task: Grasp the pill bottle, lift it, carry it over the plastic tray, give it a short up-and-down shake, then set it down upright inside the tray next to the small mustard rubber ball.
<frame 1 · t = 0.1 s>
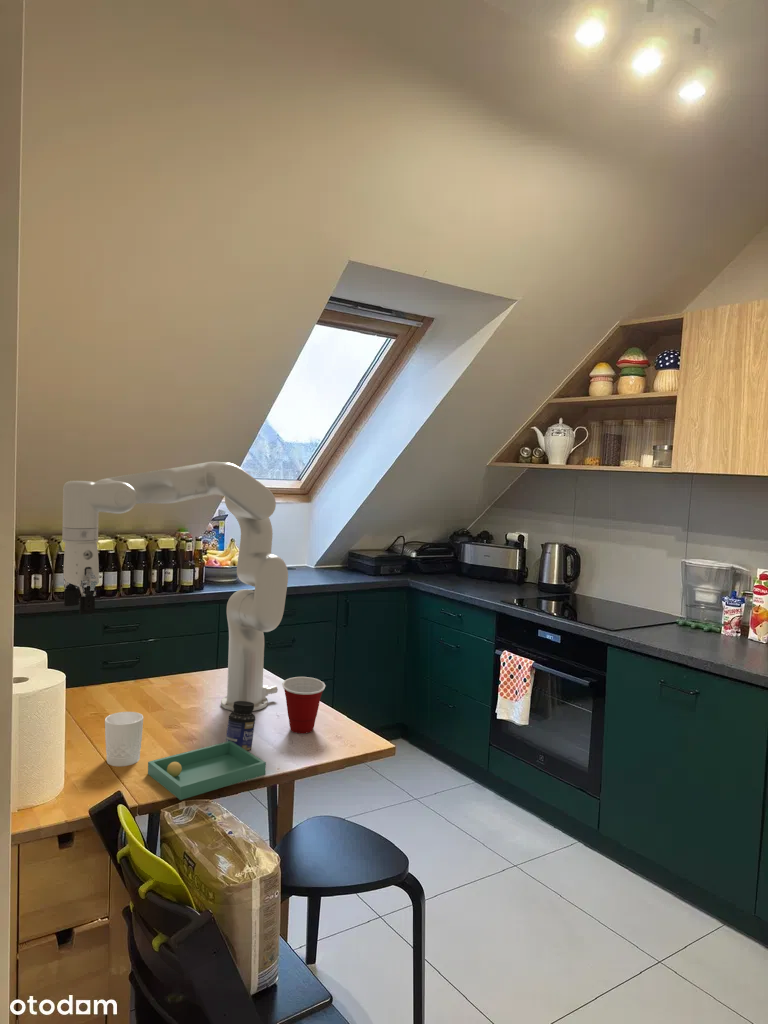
hand: (79, 609, 167), 31 cm above the table, fingers open, 9 cm apart
plastic cup: (302, 730, 183), on the table
tray: (207, 776, 154), on the table
ball: (174, 776, 153), point 1 cm above the table, touching tray
pill bottle: (237, 751, 169), on the table, touching tray
white cup: (123, 763, 159), on the table
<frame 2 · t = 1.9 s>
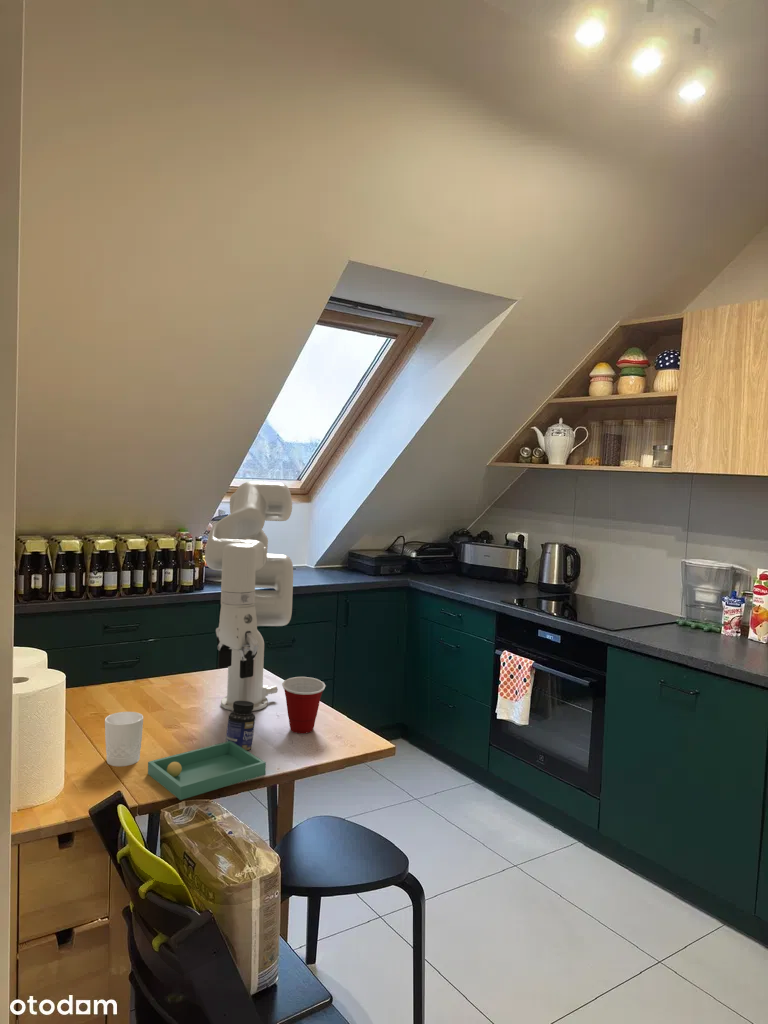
hand: (235, 671, 167), 19 cm above the table, fingers open, 9 cm apart
nothing on the table moved.
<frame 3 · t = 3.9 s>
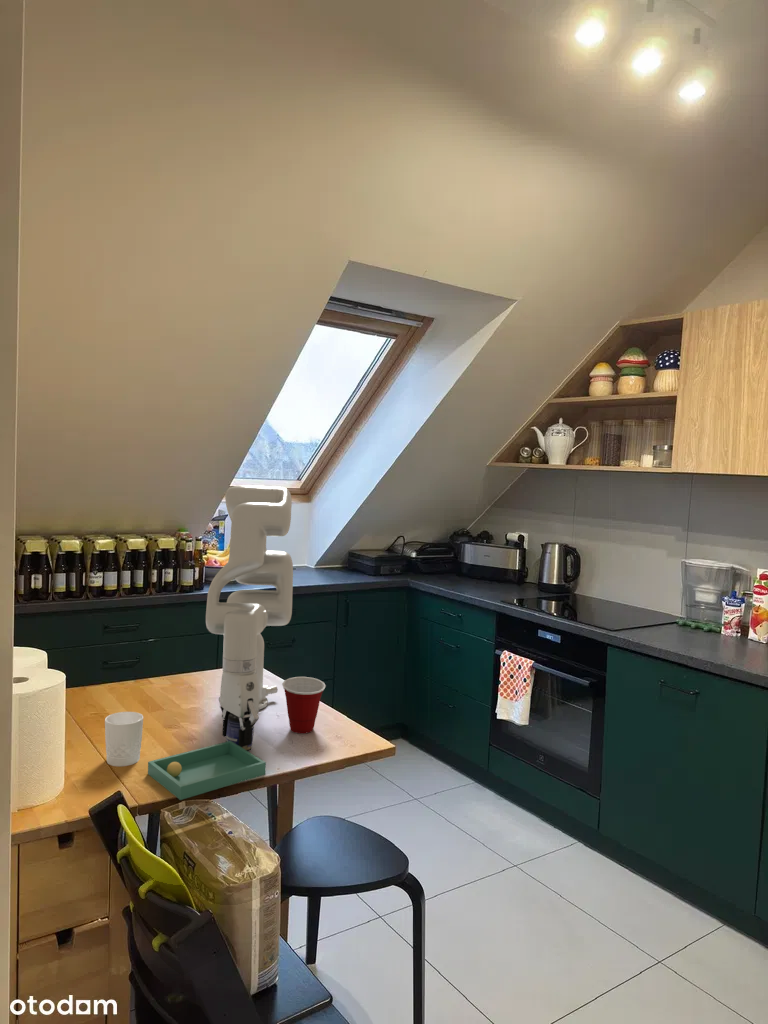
hand: (236, 739, 168), 3 cm above the table, fingers closed on pill bottle, 6 cm apart
pill bottle: (237, 751, 169), on the table, touching gripper, tray
everything else where it was.
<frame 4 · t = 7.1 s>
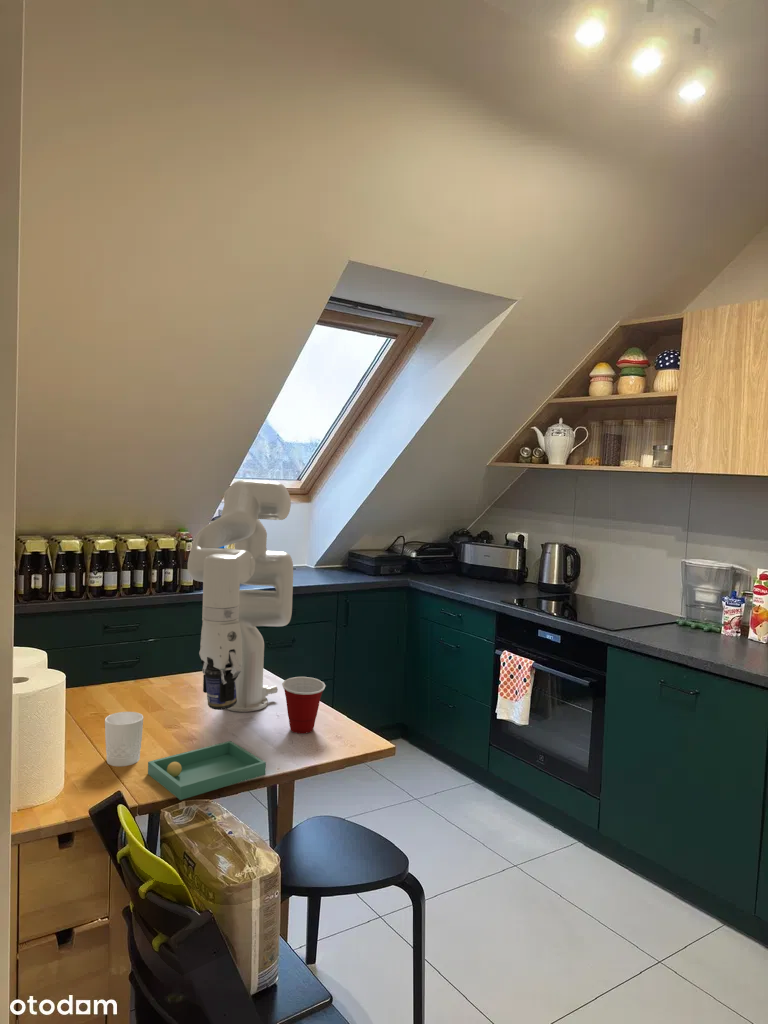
hand: (218, 695, 155), 17 cm above the table, fingers closed on pill bottle, 6 cm apart
pill bottle: (222, 705, 156), point 15 cm above the table, touching gripper
everything else where it was.
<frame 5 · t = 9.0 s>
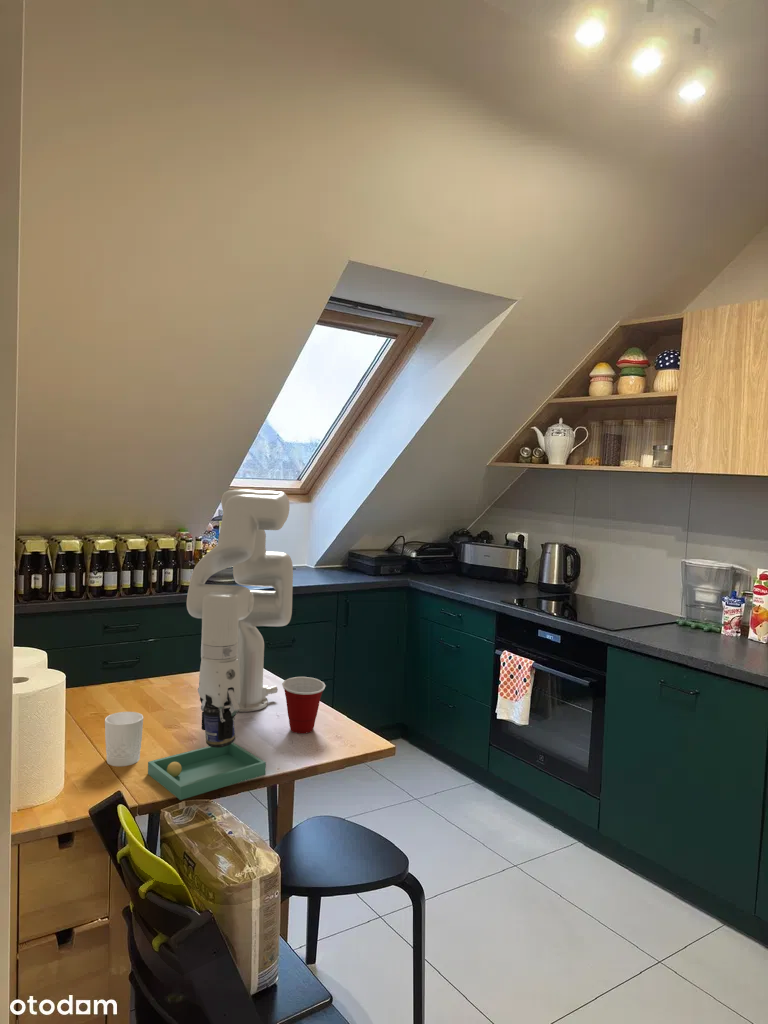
hand: (216, 732, 155), 9 cm above the table, fingers closed on pill bottle, 6 cm apart
pill bottle: (220, 742, 156), point 7 cm above the table, touching gripper
everything else where it was.
when the fingers open (5 cm above the table, at t = 10.1 s): pill bottle drops 2 cm, resting on tray.
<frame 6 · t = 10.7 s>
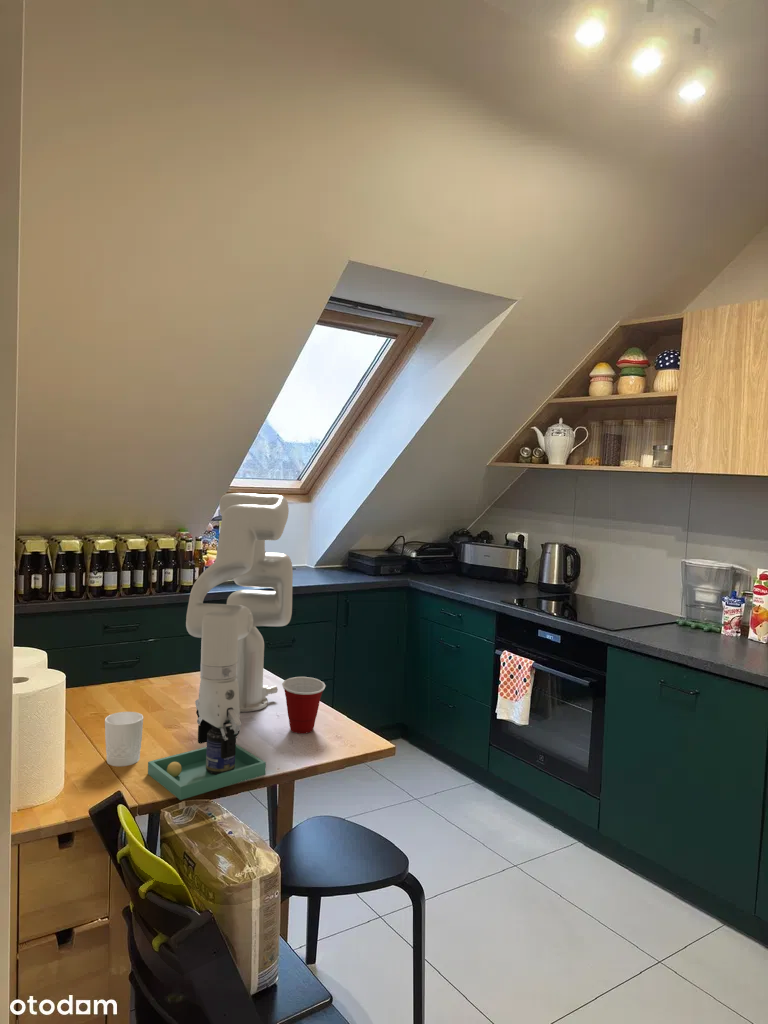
hand: (216, 749, 155), 6 cm above the table, fingers open, 9 cm apart
pill bottle: (220, 770, 157), resting on tray
everything else where it was.
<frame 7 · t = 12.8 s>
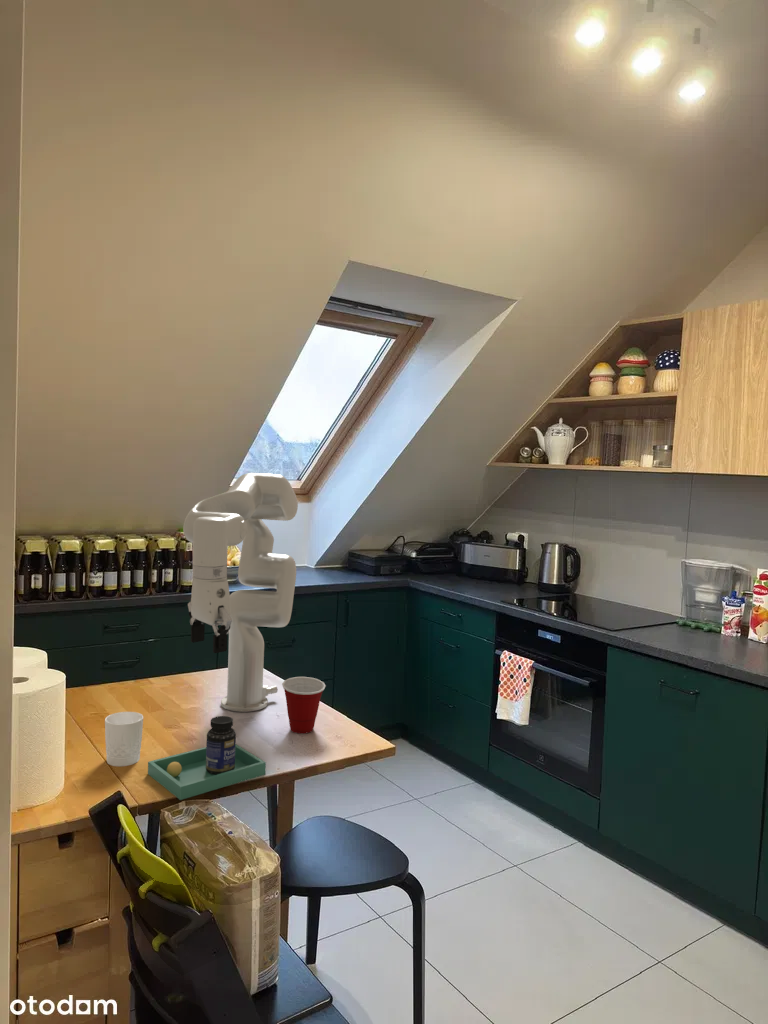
hand: (208, 646, 165), 25 cm above the table, fingers open, 9 cm apart
nothing on the table moved.
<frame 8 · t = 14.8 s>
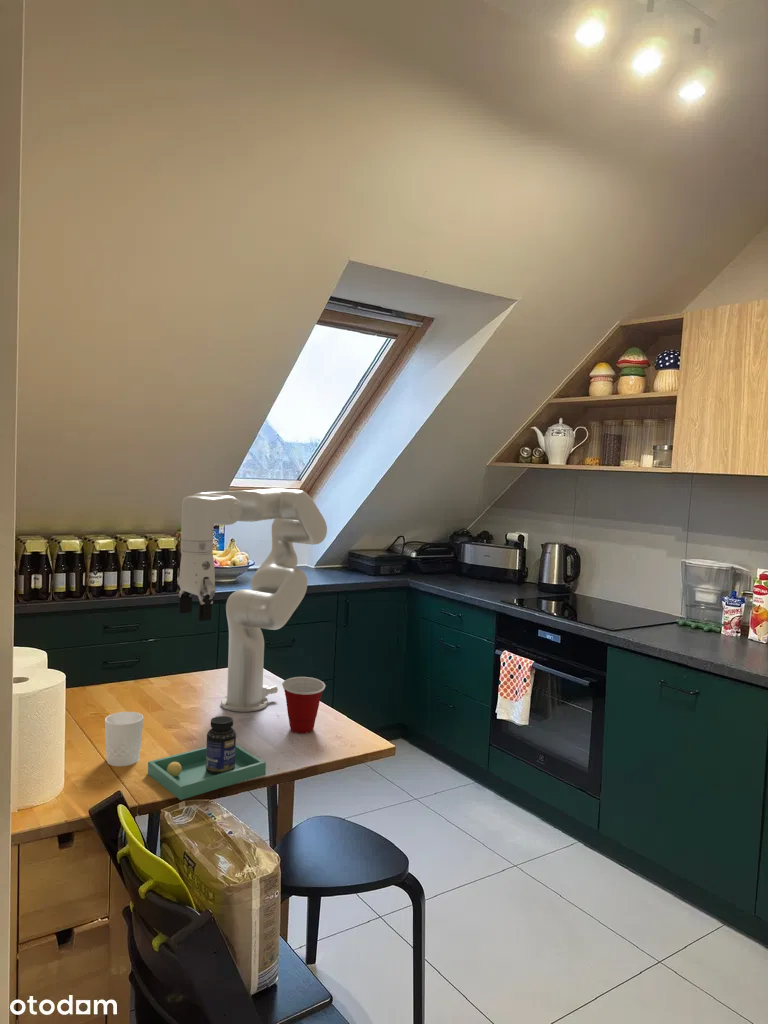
hand: (194, 616, 178), 28 cm above the table, fingers open, 9 cm apart
nothing on the table moved.
at the end: pill bottle inside the target area on the tray (3.3 cm from its centre), point 0.4 cm above the tray's base; pill bottle tilted 0°; the gripper is holding nothing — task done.
